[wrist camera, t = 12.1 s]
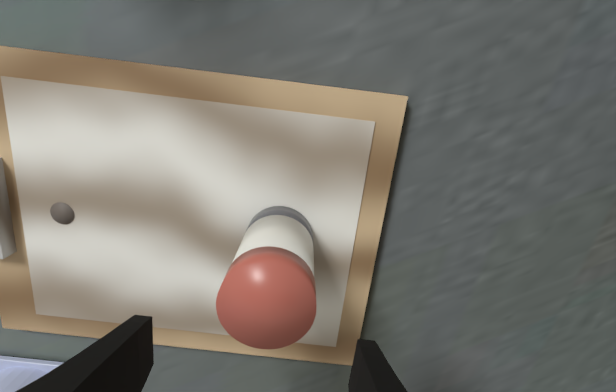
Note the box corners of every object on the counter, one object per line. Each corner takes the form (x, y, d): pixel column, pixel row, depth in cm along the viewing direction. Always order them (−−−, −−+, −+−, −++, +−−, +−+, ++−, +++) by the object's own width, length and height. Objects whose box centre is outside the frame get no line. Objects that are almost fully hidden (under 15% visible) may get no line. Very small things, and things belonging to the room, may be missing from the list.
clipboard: (352, 357, 25) (355, 377, 23) (12, 320, 24) (-11, 338, 22) (404, 95, 19) (413, 97, 17) (-37, 41, 19) (-73, 36, 17)
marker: (309, 271, 21) (310, 354, 15) (243, 263, 21) (213, 344, 15) (318, 209, 20) (322, 269, 14) (248, 201, 20) (218, 257, 13)
